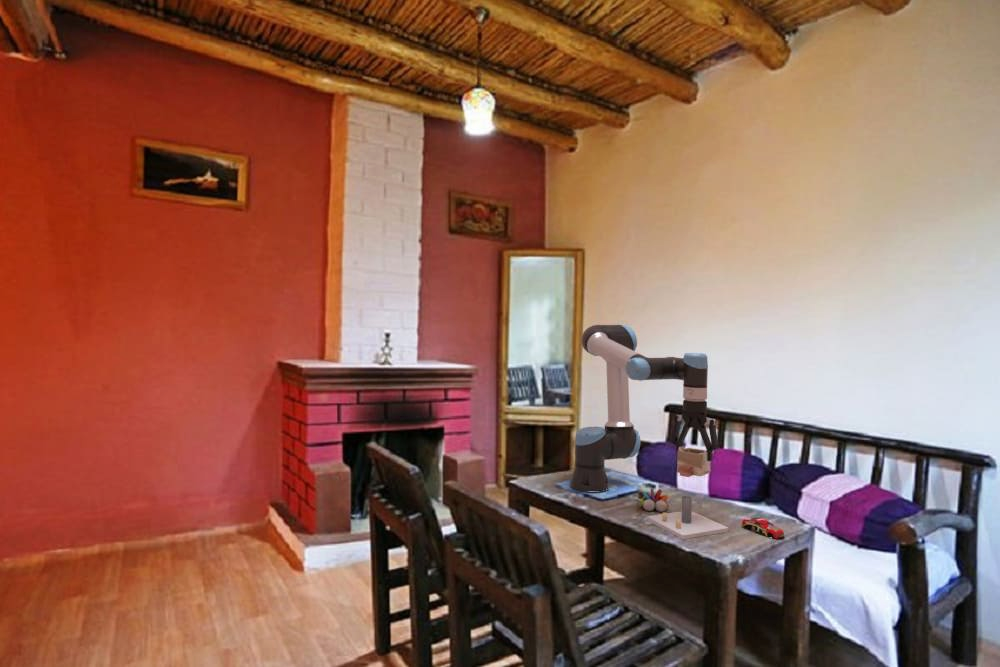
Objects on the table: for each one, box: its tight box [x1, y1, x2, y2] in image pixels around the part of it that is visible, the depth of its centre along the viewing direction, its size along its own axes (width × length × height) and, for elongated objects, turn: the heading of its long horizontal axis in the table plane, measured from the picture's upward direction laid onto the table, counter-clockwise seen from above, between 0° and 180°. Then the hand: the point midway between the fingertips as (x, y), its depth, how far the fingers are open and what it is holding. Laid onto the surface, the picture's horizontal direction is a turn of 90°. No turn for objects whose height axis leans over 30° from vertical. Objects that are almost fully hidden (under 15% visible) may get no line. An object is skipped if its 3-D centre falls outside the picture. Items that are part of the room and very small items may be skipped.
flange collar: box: [676, 447, 712, 478], centre depth 187 cm, size 12×8×7 cm
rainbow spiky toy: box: [639, 487, 670, 513], centre depth 200 cm, size 8×10×7 cm
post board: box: [645, 495, 730, 540], centre depth 183 cm, size 18×18×9 cm
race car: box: [741, 517, 785, 539], centre depth 178 cm, size 13×5×4 cm, turn 29°
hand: (693, 468), depth 188 cm, fingers closed on flange collar, 8 cm apart
